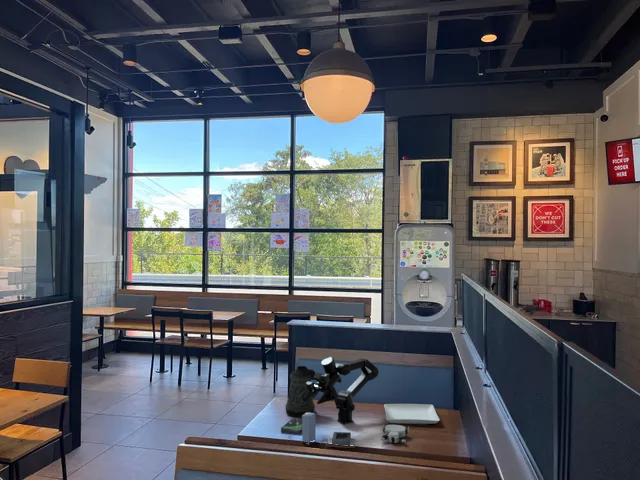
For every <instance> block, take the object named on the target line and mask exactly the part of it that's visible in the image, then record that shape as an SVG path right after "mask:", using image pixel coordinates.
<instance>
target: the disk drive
mask: <svg viewBox="0 0 640 480" xmlns="http://www.w3.org/2000/svg"><path fill="white" fill-rule="evenodd" d="M280 433H282V434H283V433H284V434H291V435H302V419H297V418H290V420H289V421H287V422H286V423H285V424H284V425H283V426H282V427H280Z"/></svg>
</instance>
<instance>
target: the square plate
mask: <svg viewBox="0 0 640 480" xmlns="http://www.w3.org/2000/svg"><path fill="white" fill-rule="evenodd" d="M383 406H384V411H385V421H386V422H388V423H390V424H397V425H400V424H401V425H403V424H404V425H405V424H406V425H408V424H409V425H431V424H432V425H433V424H437V423H438V422H439V421H440V417H439V416H438V414H437V412H436V409H435V406H434V405H433V404H428V403H427V404H423V403H422V404H421V403H385V404H384V405H383Z"/></svg>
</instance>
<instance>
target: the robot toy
mask: <svg viewBox="0 0 640 480" xmlns="http://www.w3.org/2000/svg"><path fill="white" fill-rule="evenodd" d="M409 428H410V427H409V426H407V428H406V426H404V425H402V424H401V425H400V424H386V425H385V424H383V425H382V428H381V429H382V433H383V435H382V436H381V438H380V440H381V441H387V440H388V442H389V443H394V444H397V443H399V442H401V443H406V438H405V437H406V436H407V435H408V434H409Z"/></svg>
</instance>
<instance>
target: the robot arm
mask: <svg viewBox="0 0 640 480" xmlns="http://www.w3.org/2000/svg"><path fill="white" fill-rule="evenodd" d="M321 365H322V368H323V371H324V372H325V374H323V373H322V372H318V371H317V372H315V376H314V379H315V380H314V381H315V382H316V384H315V382H313V381H311V382H309V381H308V382H307V383H306V384H305V385H306V387H307V392H306V394H305V397H304V400H307V399H309V398H310V397H312V396H314V394H315V393H316V392H317V391H319V393H322V395H321V397H319V399H318V400H317V402H316V404H317V405H320V404H324V403H326V402H331V401H334V404H335V407H336V409H338V413H337V421H338V422H339V423H341V424H342V425H344V424H351V423H354V422H355V421H354V420H353V411H355V407H356V405H355V404H354V403H353V401H354V397H355V396H356V395H357V394H358V393H359V392H360V391H361V390H362V388H363V387H364V386H365V385H366V384H367V383H368V382H370V381H372V380H374V379H376V378H377V377H378V375H379V369H378V367H377V366H375V365H374V364H373V363H371V362H370V361H369V360H368V359H366V358H359V359H356V360H352V361H349V362H336V363H335V360H334V357H332V356H329V357H327V358H324V359H322V360H321ZM359 369H360V370H361V372H360V375H359V377H357V378H356V380H355V381H354V382H353V383H352V384H351V385H350V386H349V388H347V389H346V390H342V389H341V390H340V391H338V392H337V389H336V387H335V385H336V383H340V384H341V383H342V377H341V376H347V375H349V374H351V372H353V371H355V370H359Z"/></svg>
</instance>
